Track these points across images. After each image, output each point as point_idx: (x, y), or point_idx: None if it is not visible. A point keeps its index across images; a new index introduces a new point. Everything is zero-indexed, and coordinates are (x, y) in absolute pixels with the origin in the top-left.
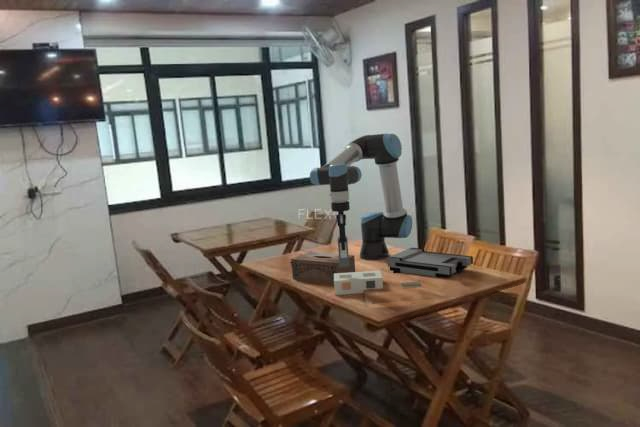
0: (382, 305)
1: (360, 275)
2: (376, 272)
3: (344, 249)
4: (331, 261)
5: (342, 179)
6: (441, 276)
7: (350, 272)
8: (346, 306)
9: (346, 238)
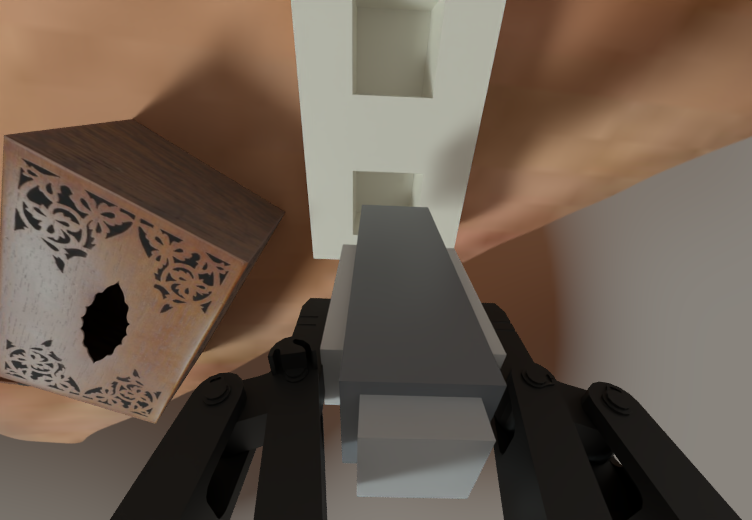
0: (708, 19)
1: (395, 116)
2: None
3: (500, 314)
4: (210, 289)
5: None
6: None
7: (309, 174)
8: (601, 198)
9: (502, 393)
